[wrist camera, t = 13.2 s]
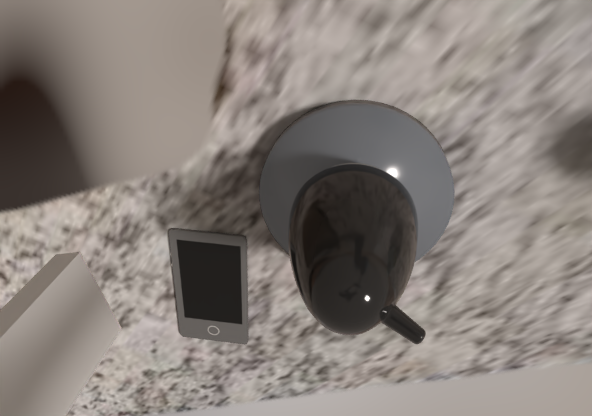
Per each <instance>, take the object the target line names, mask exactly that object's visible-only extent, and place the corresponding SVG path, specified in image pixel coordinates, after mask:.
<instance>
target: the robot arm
mask: <svg viewBox="0 0 592 416" xmlns="http://www.w3.org/2000/svg"><path fill="white" fill-rule="evenodd" d="M121 329H122V328H121V326H120V325H119V323H118V321H117V319H116V317H115V315H114V313H113V312H112V310H111V308H110V306H109V304H108V302H107V301H106V299H105V297H104V295H103V293H102V291H101V290H100V288H99V286H98V284H97V282H96V280H95V278H94V277H93V275H92V273H91V271H90V269H89V267H88V266H87V264H86V262H85V260H84V258H83V256H82V254H81V253H80V252H76V253H66V254H57V255H55V256H54V257H53V258H52V259H51V260H50V261H49V262H48V263H47V264H46V265H45V266H44V267H43V268H42V269H41V270H40V271H39V272H38V273H37V274H36V275H35V276H34V277H33V278H32V279H31V280H30V281H29V282H28V283H27V284H26V285H25V286H24V287H23V288H22V289H21V290H20V291H19V292H18V293H17V294H16V295H15V296H14V297H13V298H12V299H11V300H10V301H9V302H8V303H7V304H6V305H5V306H4V307H3V308H2V309H1V310H0V416H66V415H67V413H68V412H69V410H70V409H71V407H72V406H73V404H74V403H75V401H76V399H77V398H78V396H79V395H80V393H81V392H82V390H83V389H84V387H85V385H86V384H87V382H88V381H89V379H90V378H91V376H92V374H93V373H94V371H95V370H96V368H97V367H98V365H99V364H100V362H101V360H102V359H103V357H104V356H105V354H106V353H107V351H108V350H109V348H110V346H111V345H112V343H113V342H114V340H115V339H116V337H117V336H118V334H119V332H120V331H121Z"/></svg>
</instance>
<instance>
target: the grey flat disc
mask: <svg viewBox="0 0 592 416" xmlns="http://www.w3.org/2000/svg"><path fill="white" fill-rule="evenodd" d="M345 163H362V164H367V165H371V166H374V167H377V168H379V169H381V170H383V171H385V172H387V173H389V174H390V175H392V176H393V177H395V178H396V179H397V180H399V181H400V182H401V183H402V184H403V185H404V187H405V188H406V189H407V190H408V192H409V193H410V195H411V197H412V199H413V201H414V204H415V207H416V211H417V217H418V242H417V251H416V257H415V261H417V260H419V259H420V258H421V257H422V256H424V255H425V254H426V253H427V252H428V251H429V250H430V249H431V248H432V247H433V246H434V245H435V244H436V243H437V241H438V240H439V239H440V237H441V236H442V234H443V232H444V231H445V229H446V227H447V225H448V222H449V220H450V217H451V214H452V209H453V204H454V183H453V177H452V174H451V170H450V167H449V164H448V161H447V159H446V156H445V154H444V152H443V150H442V147H441V146H440V144H439V143H438V141H437V140H436V138H435V137H434V135H433V134H432V133H431V132H430V131H429V130H428V129H427V127H425V126H424V125H423V124H422V123H421V122H420V121H418V120H417V119H416V118H414V117H413V116H411V115H409V114H408V113H406V112H404V111H402V110H400V109H398V108H396V107H393V106H390V105H387V104H384V103H380V102H374V101H368V100H347V101H339V102H334V103H330V104H326V105H323V106H321V107H318V108H315V109H313V110H311V111H309V112H308V113H306V114H304V115H302V116H301V117H300V118H298V119H297V120H295V121H294V122H293V123H292V124H291V125H290V126H288V127H287V128H286V129H285V130H284V132H283V133H282V134H281V135H280V136H279V138H278V139H277V141H276V142H275V144H274V146H273V147H272V149H271V151H270V153H269V155H268V158H267V160H266V162H265V165H264V167H263V170H262V174H261V178H260V187H259V198H260V205H261V211H262V214H263V217H264V220H265V222H266V224H267V226H268V229H269V231H270V232H271V234H272V235H273V237H274V238H275V240H276V241H277V242H278V243H279V244H280V246H281V247H282V248H283V249H284V250H285V251H286V252H287V253H289V245H288V228H289V217H290V211H291V208H292V204H293V201H294V199H295V197H296V195H297V193H298V192H299V190H300V189H301V187H302V186H303V185H304V184H305V183H306V182H307V181H308V180H309V179H310V178H311V177H313V176H314V175H316V174H317V173H319V172H321V171H323V170H325V169H328V168H330V167H333V166H336V165H340V164H345Z"/></svg>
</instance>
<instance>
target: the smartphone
mask: <svg viewBox="0 0 592 416" xmlns="http://www.w3.org/2000/svg"><path fill="white" fill-rule="evenodd" d="M169 241H170V250H171V253H170V256H171V259H172V264H171V265H172V268H173V277H174V285H175V294H176V303H177V312H178V320H179V329H180V334H181V335H182V336H183V337H191V338H198V339H206V340H214V341H222V342H230V343H238V344H247V342H248V280H247V240H246V237H245V236H243V235H234V234H225V233H215V232H206V231H196V230H187V229H178V228H171V229H170V231H169Z"/></svg>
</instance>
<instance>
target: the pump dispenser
mask: <svg viewBox="0 0 592 416" xmlns="http://www.w3.org/2000/svg"><path fill="white" fill-rule="evenodd" d="M417 242H418V217H417V211H416V207H415V204H414V201H413V199H412V197H411V195H410V193H409V192H408V190H407V189H406V188H405V187H404V185H403V184H402V183H401V182H400V181H399V180H397V179H396V178H395V177H393V176H392V175H390V174H389V173H387V172H385V171H383V170H381V169H379V168H377V167H374V166H371V165H367V164H362V163H345V164H340V165H336V166H333V167H330V168H328V169H325V170H323V171H321V172H319V173H317V174H316V175H314V176H313V177H311V178H310V179H309V180H308V181H307V182H306V183H305V184H304V185H303V186H302V187H301V189H300V190H299V192H298V193H297V195H296V197H295V199H294V201H293V204H292V208H291V211H290V217H289V228H288V245H289V255H290V261H291V266H292V271H293V274H294V278H295V281H296V284H297V287H298V290H299V292H300V295H301V297H302V299H303V301H304V303H305V305H306V307H307V308H308V310H309V311H310V313H311V314H312V315H313V316H314V318H315V319H316V320H317V321H318V322H319V323H320V324H321V325H323V326H324V327H325V328H327V329H329V330H331V331H333V332H335V333H338V334H342V335H358V334H362V333H365V332H367V331H369V330H371V329H372V328H374V327H376V326H377V325H378V324H379V323H383V324H385V325H386V326H388V327H389V328H391V329H392V330H394V331H396V332H397V333H399V334H400V335H402V336H403V337H405V338H407V339H408V340H410V341H411V342H413V343H414V344H419V343H421V342H422V341H423V339H424V337H425V334H426V333H425V330H424V329H423V328H421V327H420V326H419V325H418V324H417V323H416V322H414V321H413V320H412V319H411V318H410V317H409V316H407V315H406V314H405V313H404V312H403V311H402V310H400V309H399V308H398V307H397V306H396V304H397V302H398V301H399V299H400V298H401V296H402V294H403V292H404V290H405V288H406V286H407V284H408V281H409V279H410V276H411V273H412V270H413V266H414V262H415V257H416V251H417Z"/></svg>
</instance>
